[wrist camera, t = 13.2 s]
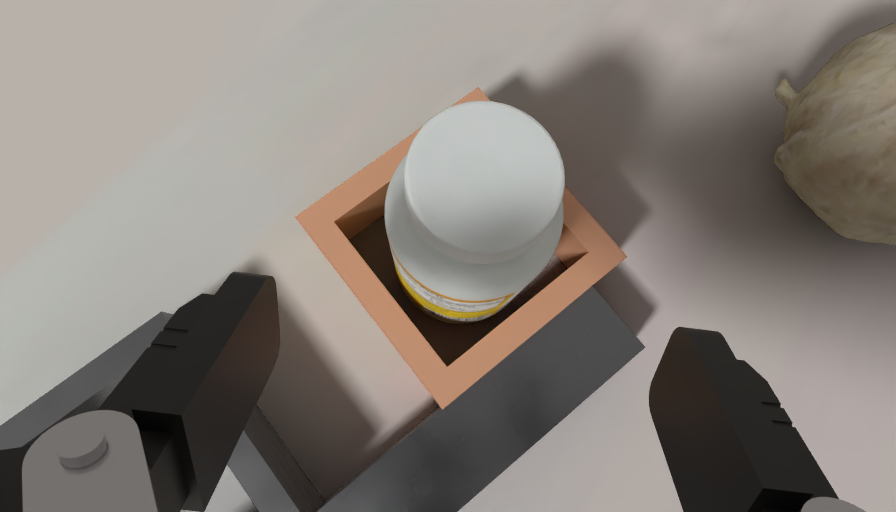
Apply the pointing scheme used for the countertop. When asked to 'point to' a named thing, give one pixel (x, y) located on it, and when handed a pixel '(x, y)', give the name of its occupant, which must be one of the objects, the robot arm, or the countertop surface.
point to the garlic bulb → (846, 139)
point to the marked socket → (331, 231)
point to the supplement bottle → (474, 210)
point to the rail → (420, 450)
